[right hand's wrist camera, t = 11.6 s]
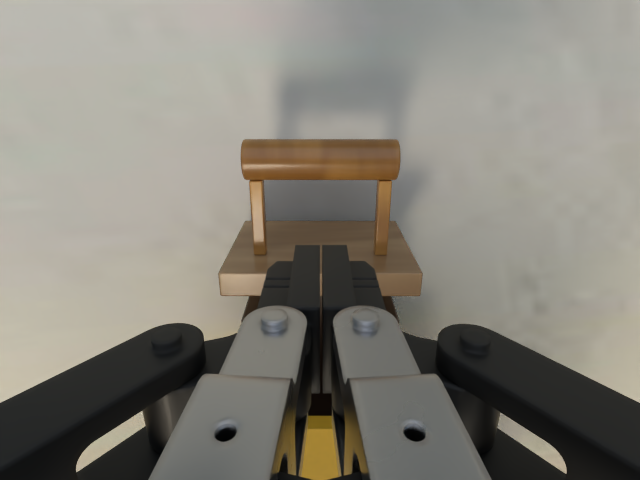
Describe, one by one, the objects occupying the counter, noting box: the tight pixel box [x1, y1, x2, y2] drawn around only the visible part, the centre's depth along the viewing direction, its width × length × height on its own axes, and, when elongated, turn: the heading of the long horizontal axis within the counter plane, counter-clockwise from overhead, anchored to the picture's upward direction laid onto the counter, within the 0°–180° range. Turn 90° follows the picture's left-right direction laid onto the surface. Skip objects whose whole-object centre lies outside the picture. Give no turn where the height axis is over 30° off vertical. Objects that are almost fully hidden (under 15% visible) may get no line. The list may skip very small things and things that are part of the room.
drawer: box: [218, 139, 423, 416], centre depth 23 cm, size 21×9×7 cm, turn 0°
